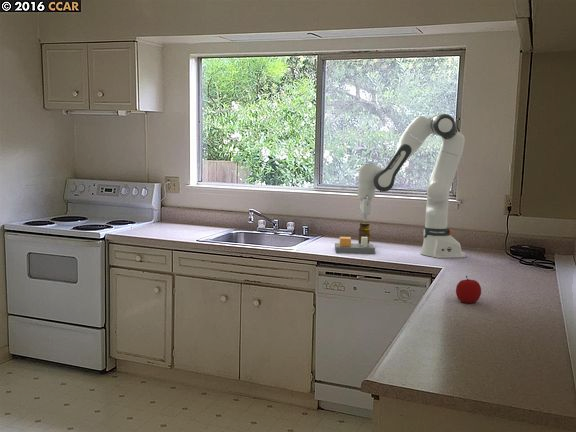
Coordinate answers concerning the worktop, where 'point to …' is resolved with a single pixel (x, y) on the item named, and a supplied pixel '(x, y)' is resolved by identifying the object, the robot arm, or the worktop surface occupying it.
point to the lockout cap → (345, 241)
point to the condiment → (364, 231)
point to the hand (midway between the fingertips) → (364, 220)
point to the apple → (468, 291)
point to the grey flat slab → (355, 249)
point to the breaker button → (364, 241)
